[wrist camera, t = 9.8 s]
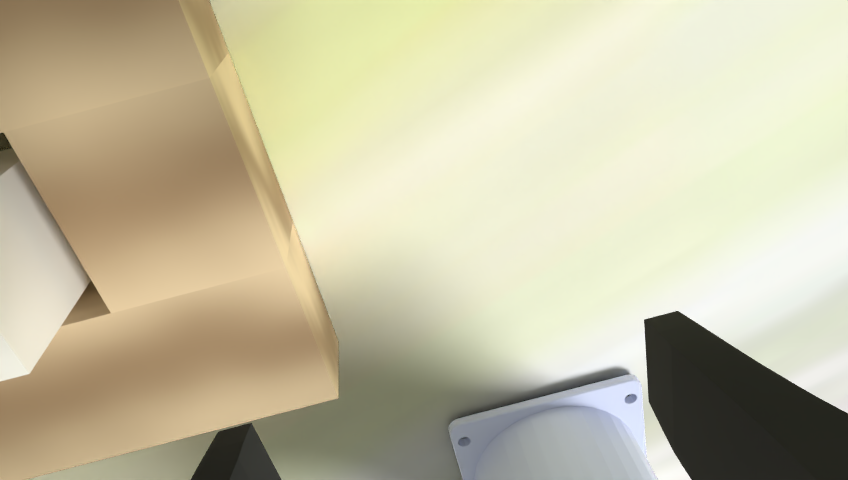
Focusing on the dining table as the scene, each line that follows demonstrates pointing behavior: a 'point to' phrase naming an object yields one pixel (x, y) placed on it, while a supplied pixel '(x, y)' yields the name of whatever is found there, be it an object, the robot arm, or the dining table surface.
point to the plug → (31, 271)
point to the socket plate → (153, 237)
